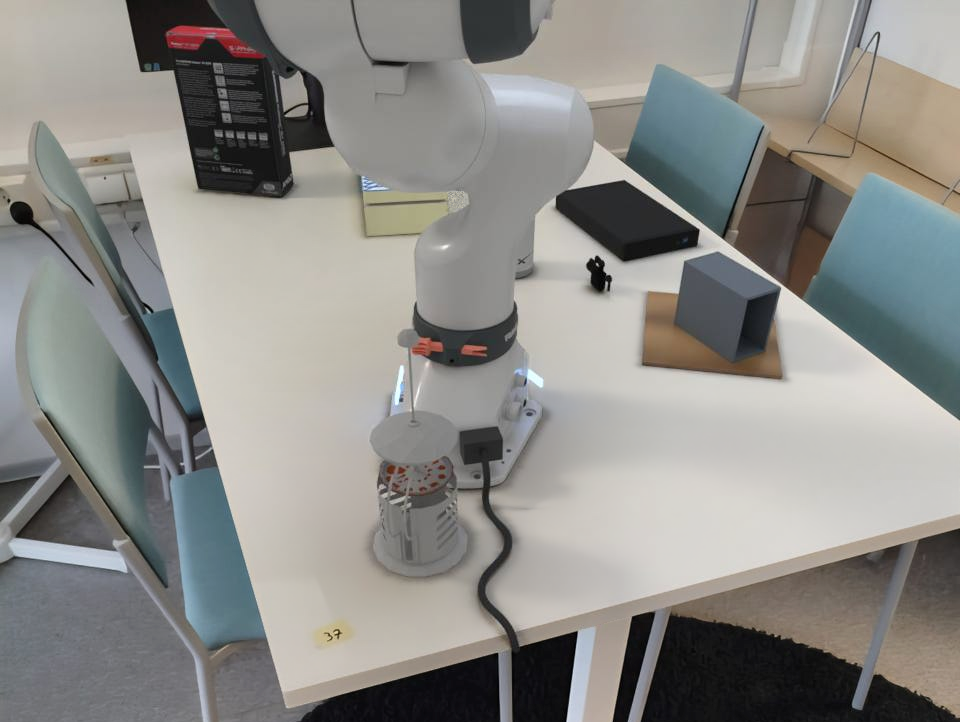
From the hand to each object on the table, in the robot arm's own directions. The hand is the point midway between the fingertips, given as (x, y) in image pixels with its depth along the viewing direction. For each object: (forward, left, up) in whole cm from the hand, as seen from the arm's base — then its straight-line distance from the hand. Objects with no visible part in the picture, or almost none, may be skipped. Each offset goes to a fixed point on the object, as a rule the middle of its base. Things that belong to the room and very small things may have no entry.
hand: (505, 15), depth 99 cm
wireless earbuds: (+11, -13, -40) cm, 43 cm away
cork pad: (+1, -30, -39) cm, 49 cm away
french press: (-48, 0, -40) cm, 62 cm away
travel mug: (+15, 0, -40) cm, 42 cm away
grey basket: (-1, -31, -39) cm, 50 cm away
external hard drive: (+34, -16, -40) cm, 55 cm away
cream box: (+46, +27, -39) cm, 66 cm away
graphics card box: (+38, +54, -40) cm, 77 cm away
